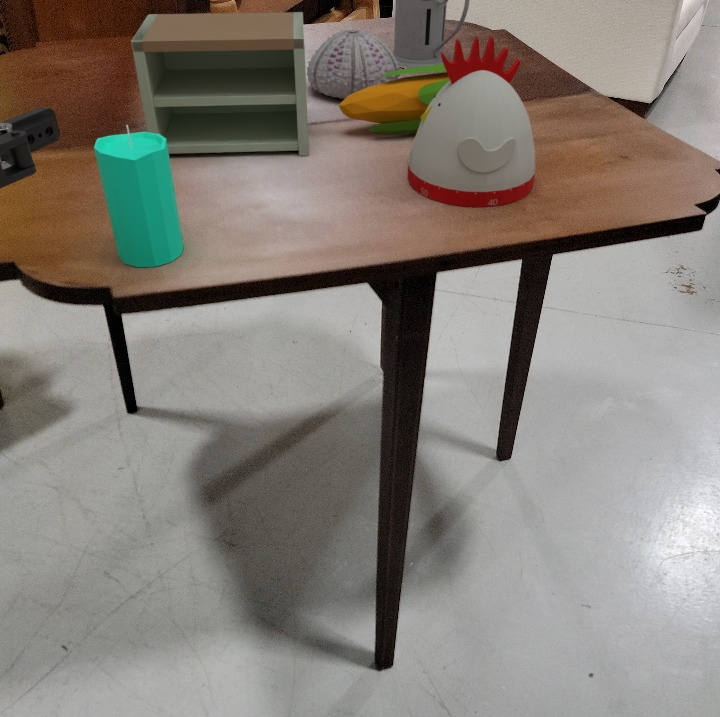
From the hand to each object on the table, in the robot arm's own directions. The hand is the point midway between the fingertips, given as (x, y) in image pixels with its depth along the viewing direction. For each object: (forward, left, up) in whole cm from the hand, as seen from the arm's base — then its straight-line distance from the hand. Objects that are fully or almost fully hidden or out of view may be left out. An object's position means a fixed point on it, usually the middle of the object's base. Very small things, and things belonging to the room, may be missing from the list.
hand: (7, 112), depth 50 cm
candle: (+6, +10, -17) cm, 20 cm away
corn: (+35, +40, -17) cm, 55 cm away
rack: (+12, +38, -16) cm, 43 cm away
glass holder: (+41, +67, -17) cm, 80 cm away
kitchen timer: (+39, +24, -17) cm, 48 cm away
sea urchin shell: (+28, +56, -17) cm, 64 cm away
